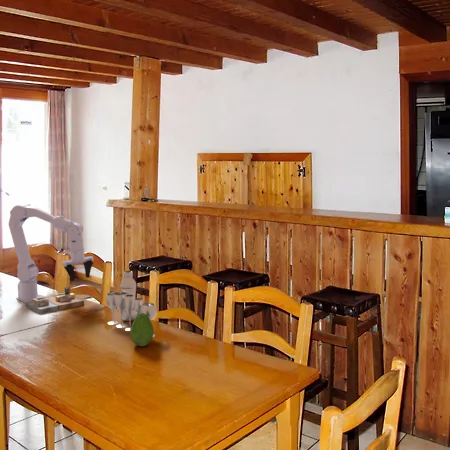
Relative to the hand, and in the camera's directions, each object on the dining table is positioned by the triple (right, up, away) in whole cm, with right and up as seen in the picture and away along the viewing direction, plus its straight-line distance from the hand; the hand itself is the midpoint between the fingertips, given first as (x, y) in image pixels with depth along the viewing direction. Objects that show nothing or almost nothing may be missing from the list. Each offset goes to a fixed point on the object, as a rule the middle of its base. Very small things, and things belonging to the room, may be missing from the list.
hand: (80, 279), depth 250 cm
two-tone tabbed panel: (-9, -11, -7) cm, 16 cm away
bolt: (-6, -9, -4) cm, 11 cm away
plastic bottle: (+27, -14, -28) cm, 41 cm away
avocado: (+37, -18, -57) cm, 70 cm away
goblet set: (+30, -16, -39) cm, 51 cm away
